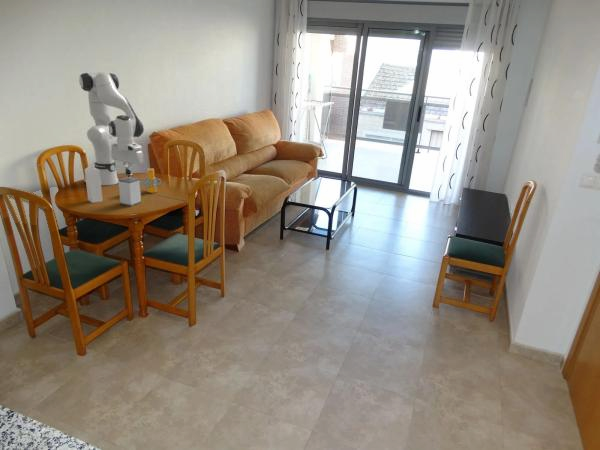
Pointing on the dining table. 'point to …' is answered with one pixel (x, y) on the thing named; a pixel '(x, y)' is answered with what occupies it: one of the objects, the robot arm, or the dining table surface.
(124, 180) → the white box with knob
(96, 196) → the milk
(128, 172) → the plunger
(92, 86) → the robot arm
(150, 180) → the yellow and blue toy
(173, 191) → the dining table surface
